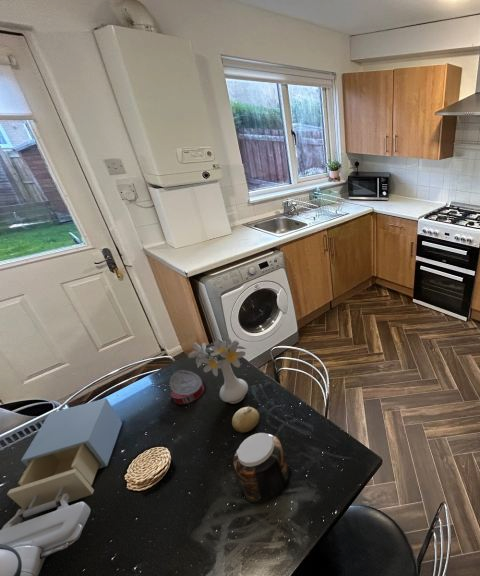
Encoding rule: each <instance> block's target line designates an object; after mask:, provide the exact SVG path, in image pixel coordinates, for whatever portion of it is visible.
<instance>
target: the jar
mask: <svg viewBox="0 0 480 576" xmlns="http://www.w3.org/2000/svg"><path fill="white" fill-rule="evenodd" d="M284 452H285V451H284V449H283V446H282V443H281V441H280V439H279V438H278V437H277V436H276V435H273V434H271V433H265V432H258V433H254V434H252V435H250V436H248V437H246V438H245V439H244V440H243V441H242V442H241V443H240V445H239V447H238V448H237V449H236V451H235V453H234V455H233V460H232V463H233V464H232V465H233V469H234V470H233V471H234V473H235V475H236V478H237V480H238V483H239V485H240V488H241V490H242V493H243V495H244V496H245V498H246V499H247V500H248V501H249V502H251V503H255V504H263V503H267V502H269V501H271V500H273V499H275V498H276V497H277V496H279V494H281V492H282V491H284V489H285V487H287V484H288V482H289V476H290V472H289V466H288V463H287V459H286V456H285V453H284Z"/></svg>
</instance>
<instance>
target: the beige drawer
mask: <svg viewBox="0 0 480 576" xmlns="http://www.w3.org/2000/svg"><path fill="white" fill-rule="evenodd" d="M99 464H100V462H99V461H98V459H97V458H96V457H95V455H94V454H93V453H92V452H91V450H90V449H89V448H88V446H87V445H86V444H83V445H79V446H76V447H73V448H69V449H66V450H63V451H59V452H56V453H53V454H49V455H46V456H43V457H39V458H36V459H33V460H31V461H30V463H29V465H28V467H27V466H26V468H25V470H24V472H23V473H22V474H21V475H22V476H21V477H20V479H19V480H18V481H17V482H18V483H17V484H18V485H19V486H16V487H14V488H11V489H9V490H8V492H7V493H6V495H7V496H8V497H9V498H10V499H11V500H12V501H13V502H14V503H15V504H16V505H17V506H19V507H20V509H21V508H25V507H28V509H27V510H25V511H24V512H23V517H24V519H26V518H28V517H32V516H34V515H37V514H40V513H43V512H45V511H49V510H51V509H54V508H58V507H59V505H58V504H57V503H56V500H57V499H58V496H60V495H62V494H65V493H67V494H68V495H69V499H68V502H67V503H68V504H69V503H71V502H74V501H77V500H80V499H82V498H86V497H88V496H92V495H94V492H95V489H94V488H93V487H92V486H93V483H94V480H95V478H96V475H97V472H98V470H99V469H98V467H99Z"/></svg>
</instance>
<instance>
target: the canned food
mask: <svg viewBox="0 0 480 576" xmlns="http://www.w3.org/2000/svg"><path fill="white" fill-rule="evenodd" d="M168 384H169V389H170V396H171V398H172V400H173V402H174V403H175V404H176V405H187V404H189V403H193V402H194V401H197V399H199V398H200V397H201V396H202V395H203V393H204V391H205V386H204V384H203V381H202V378H201V376H199V375H198V374H197V373H196V372H193V371H191V370H186V369H180V370H177V371H174V372H173V374H172V375H171V376H170V379H169V382H168Z"/></svg>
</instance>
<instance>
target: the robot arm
mask: <svg viewBox="0 0 480 576" xmlns="http://www.w3.org/2000/svg"><path fill="white" fill-rule="evenodd" d="M68 499H69V495H68V494H67V493H65V494H62V495H60V496H58V499H57V500H56V503H57V504H58V505H59V506H57V508H56V510H54V511H51V512H48V513H45V514H43V515H40V516H36V517H33V518H31V519H28V520H25V521H23V519H25V518H24V517H23V512H24V511H25V510H27V509H28V507H25V508H21V507H20V508H19V509H17V511H16V513H15V515H14V516H13V517H12V518H10V519H9V520H8V521H7V522H6V523H5V524H4V525H3V526H2V527H1V529H0V576H39V575H40V572H41V570H42V567H43V565H44V563H45V560H46V558H47V557H49V556H51V555H54V554H56V553H58V552H62V551H65V550H67V549H68V548H70V546H71V545H73V544H74V543H76V542H77V541H78V540H79V539H80V537H81V534H82V531H83V529H84V527H85V525H86V523H87V521H88V519H89V517H90V514H91V510H92V509H91V508H90V506H89V505H88V504H87V503H86V502H85V501H79V502H76V503H73V504H71V505H69V503H67V502H68ZM22 521H23V522H22Z"/></svg>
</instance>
